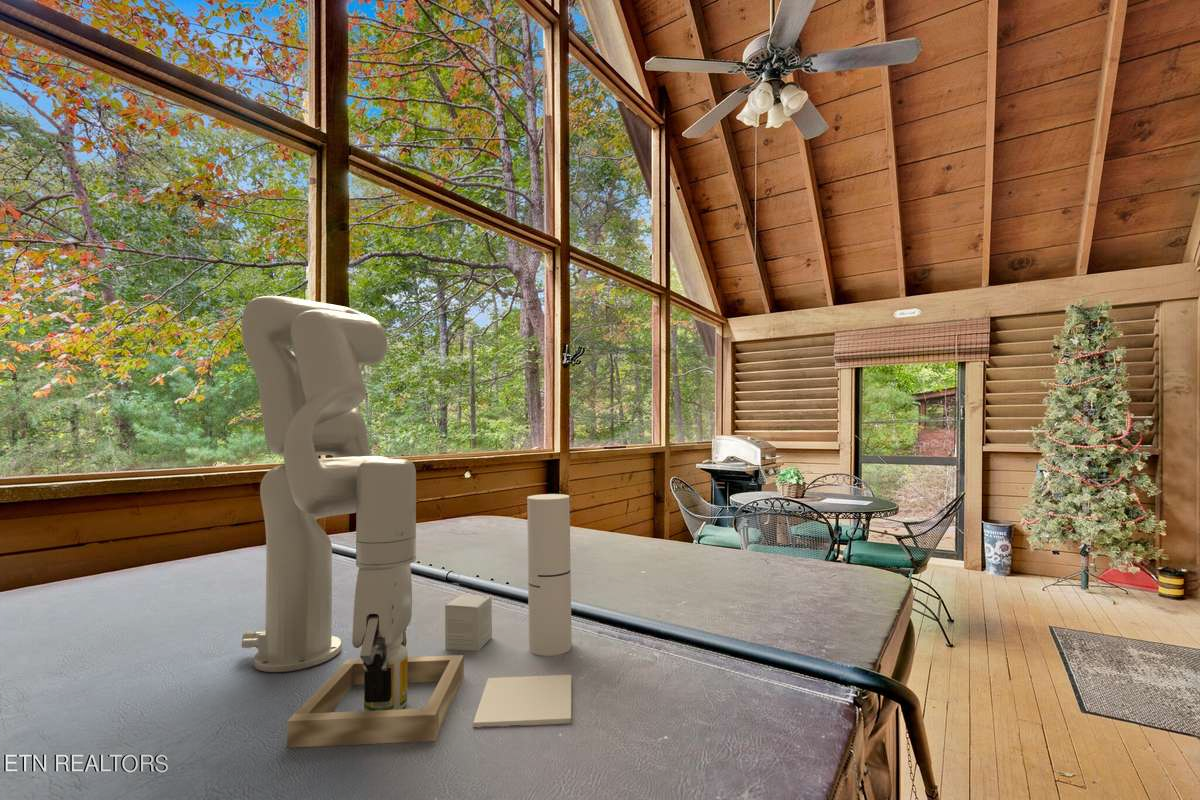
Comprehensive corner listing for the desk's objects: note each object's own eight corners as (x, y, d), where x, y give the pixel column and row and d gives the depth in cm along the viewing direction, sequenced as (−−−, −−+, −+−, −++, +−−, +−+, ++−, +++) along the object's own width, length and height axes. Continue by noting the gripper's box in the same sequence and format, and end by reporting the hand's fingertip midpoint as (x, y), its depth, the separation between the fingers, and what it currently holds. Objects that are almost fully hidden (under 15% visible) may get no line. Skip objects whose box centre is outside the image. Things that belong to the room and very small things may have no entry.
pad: (473, 727, 67) (473, 722, 67) (488, 682, 79) (488, 678, 79) (571, 723, 68) (570, 718, 68) (571, 678, 80) (571, 674, 80)
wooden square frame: (287, 747, 63) (287, 721, 64) (347, 680, 80) (347, 659, 81) (435, 740, 64) (435, 714, 65) (463, 675, 81) (463, 655, 81)
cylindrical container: (565, 657, 87) (563, 499, 88) (522, 654, 89) (521, 499, 90) (576, 640, 94) (574, 494, 96) (536, 637, 96) (535, 493, 97)
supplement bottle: (376, 722, 69) (377, 644, 69) (356, 709, 72) (356, 635, 73) (415, 705, 73) (415, 632, 73) (394, 693, 76) (394, 623, 77)
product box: (460, 635, 97) (460, 593, 98) (493, 637, 96) (492, 595, 96) (444, 649, 91) (444, 605, 92) (478, 652, 90) (477, 606, 90)
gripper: (380, 539, 82) (380, 663, 81) (329, 568, 65) (328, 725, 64) (431, 537, 82) (431, 661, 81) (394, 566, 65) (394, 723, 64)
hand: (386, 688), depth 73 cm, fingers closed on supplement bottle, 5 cm apart
